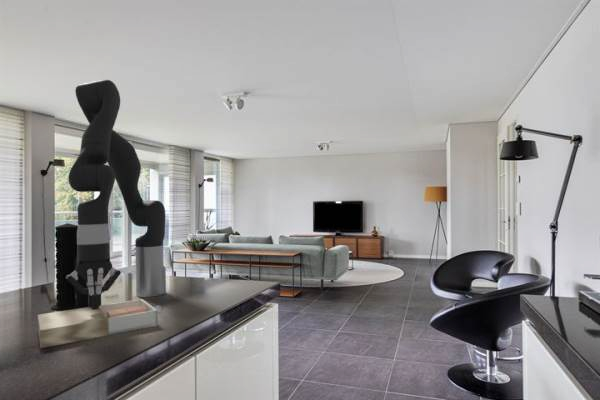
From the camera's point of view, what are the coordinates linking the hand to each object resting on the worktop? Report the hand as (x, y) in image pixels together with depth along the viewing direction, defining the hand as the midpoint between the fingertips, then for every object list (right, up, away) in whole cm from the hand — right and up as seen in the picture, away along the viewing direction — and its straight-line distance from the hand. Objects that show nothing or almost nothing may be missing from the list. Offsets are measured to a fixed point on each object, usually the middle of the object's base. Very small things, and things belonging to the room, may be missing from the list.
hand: (94, 308), depth 103 cm
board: (-4, -5, -3) cm, 7 cm away
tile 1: (+5, -5, +3) cm, 7 cm away
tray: (+6, -5, +5) cm, 9 cm away
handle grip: (-20, -6, +24) cm, 32 cm away
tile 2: (+8, -1, +6) cm, 10 cm away
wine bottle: (-11, -6, +18) cm, 22 cm away
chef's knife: (+10, -6, +16) cm, 20 cm away
